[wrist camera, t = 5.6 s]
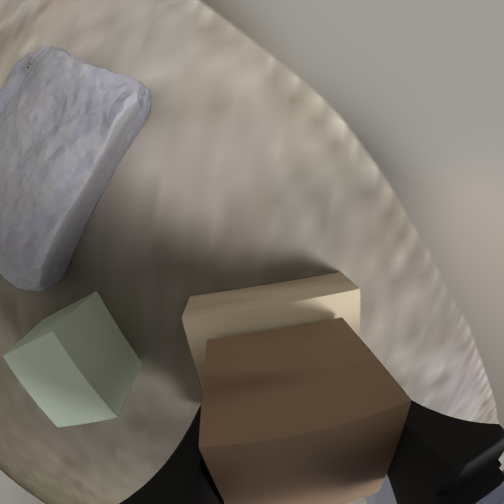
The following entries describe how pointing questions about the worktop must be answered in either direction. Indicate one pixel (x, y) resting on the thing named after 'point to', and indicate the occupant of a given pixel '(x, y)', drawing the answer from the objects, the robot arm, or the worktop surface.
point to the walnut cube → (298, 416)
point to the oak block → (268, 310)
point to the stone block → (58, 157)
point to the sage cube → (76, 364)
